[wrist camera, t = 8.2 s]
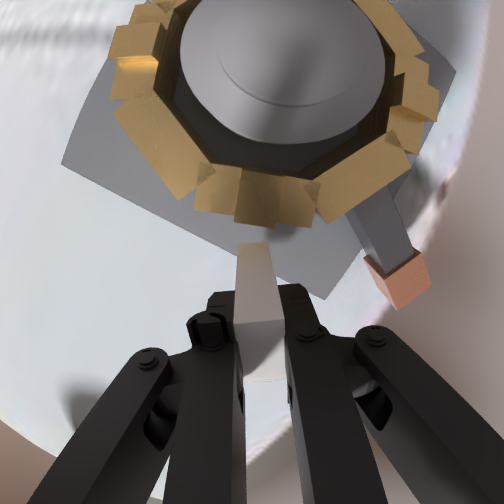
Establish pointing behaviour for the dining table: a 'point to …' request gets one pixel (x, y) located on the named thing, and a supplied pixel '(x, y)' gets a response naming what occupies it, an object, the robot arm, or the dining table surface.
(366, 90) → the base
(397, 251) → the ring nut
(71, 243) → the dining table surface
